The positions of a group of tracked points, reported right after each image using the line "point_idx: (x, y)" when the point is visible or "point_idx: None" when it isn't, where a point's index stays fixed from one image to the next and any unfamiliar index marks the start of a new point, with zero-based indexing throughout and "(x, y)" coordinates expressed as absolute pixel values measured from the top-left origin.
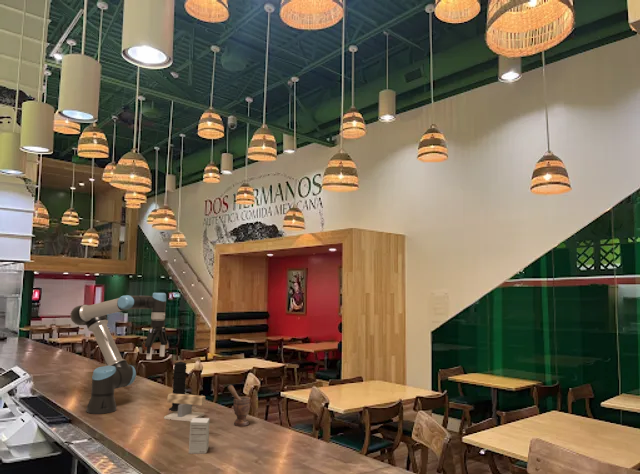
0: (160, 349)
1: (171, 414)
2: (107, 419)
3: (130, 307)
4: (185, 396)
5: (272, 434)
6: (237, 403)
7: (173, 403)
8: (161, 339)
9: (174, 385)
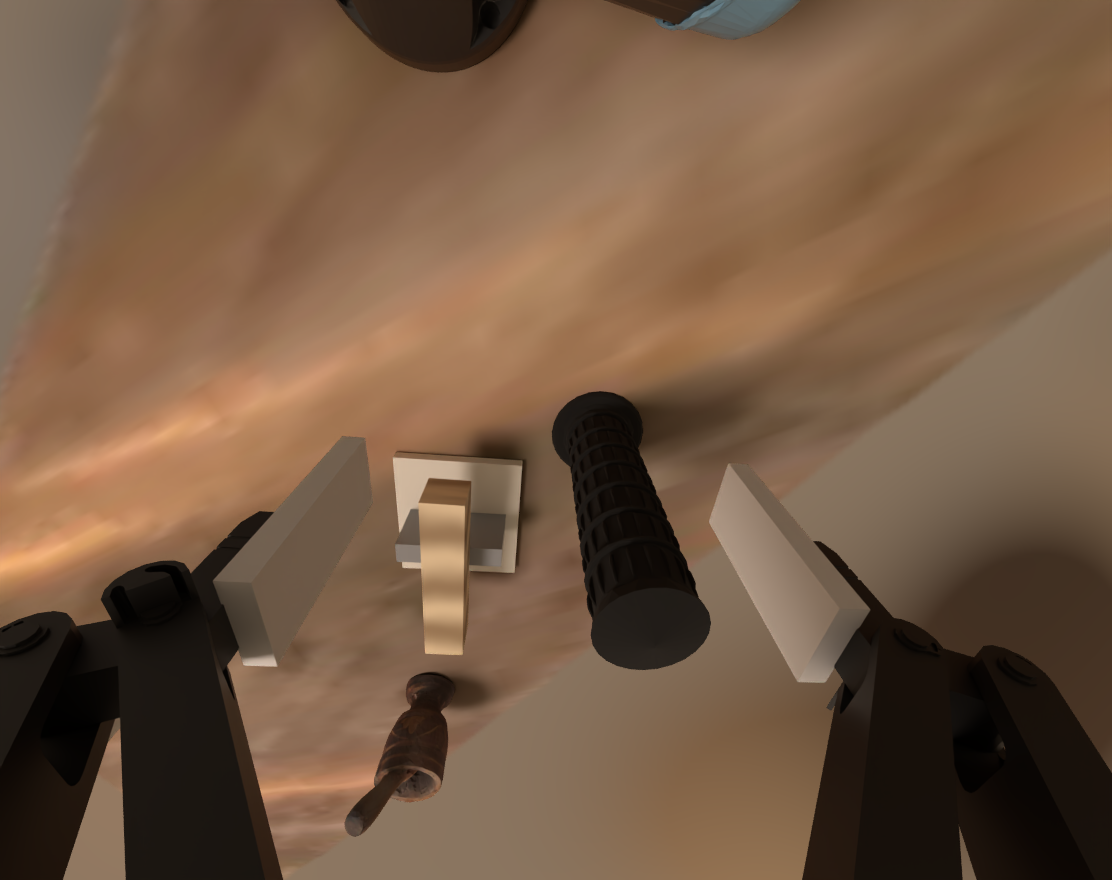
0: (777, 545)
1: (441, 470)
2: (245, 159)
3: None
4: (422, 588)
5: (365, 757)
6: (378, 765)
7: (574, 435)
8: (829, 825)
9: (584, 490)
